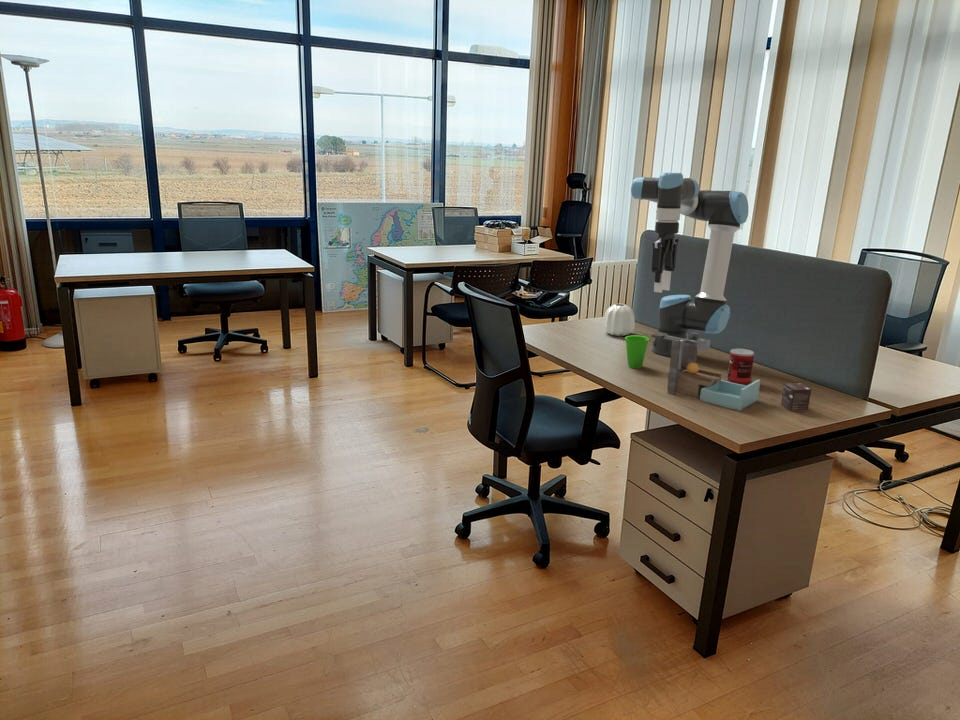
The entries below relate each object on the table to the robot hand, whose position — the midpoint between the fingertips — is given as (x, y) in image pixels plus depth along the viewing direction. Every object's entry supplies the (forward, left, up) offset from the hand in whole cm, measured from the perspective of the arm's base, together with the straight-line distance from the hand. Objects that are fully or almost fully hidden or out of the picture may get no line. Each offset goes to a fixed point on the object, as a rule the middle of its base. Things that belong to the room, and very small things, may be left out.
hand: (661, 290), depth 231 cm
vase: (-50, -46, -33) cm, 75 cm away
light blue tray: (0, +27, -33) cm, 43 cm away
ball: (0, +14, -27) cm, 30 cm away
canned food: (-22, +21, -33) cm, 45 cm away
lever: (0, +9, -26) cm, 27 cm away
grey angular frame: (0, +14, -33) cm, 36 cm away
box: (-8, +45, -33) cm, 57 cm away
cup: (-12, -15, -33) cm, 38 cm away
